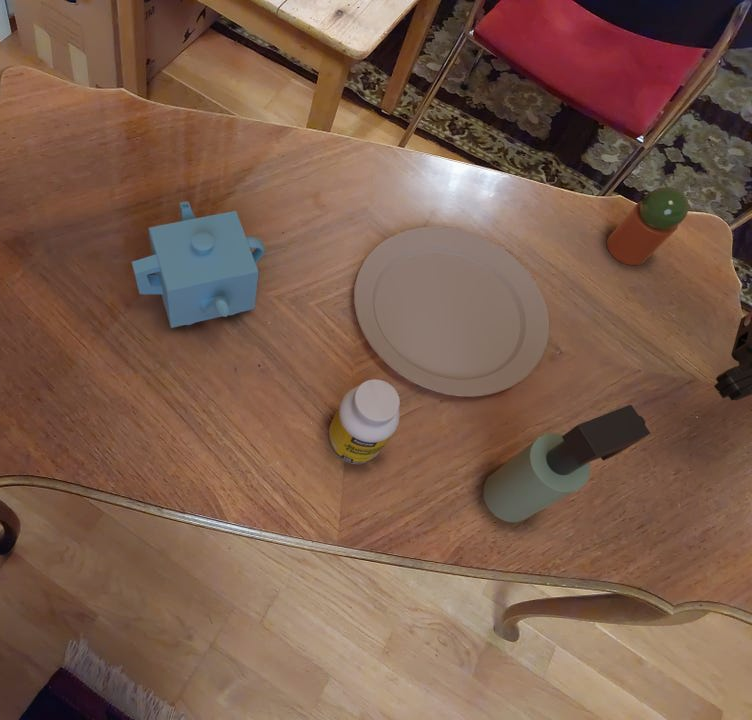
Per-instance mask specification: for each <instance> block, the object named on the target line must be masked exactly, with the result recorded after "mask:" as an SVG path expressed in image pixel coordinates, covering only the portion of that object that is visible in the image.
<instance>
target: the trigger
mask: <svg viewBox="0 0 752 720" xmlns="http://www.w3.org/2000/svg"><path fill="white" fill-rule="evenodd" d="M640 441H641V440H639V441H637V442H636V443H634V444H632V445H630V446H628V447H625V448H623V449H620V450H618V451H615V452H613V453H611V454H608V455H606V456H603V457H601V458H600V459H601V460H602V461H606V460H609V459H611V458H614V457H615V456H616V455H618V454H620V453H622V452H623V451H625V450H626V449H629V448H630V447H631V446H633V445H635V444H637V443H638V442H640Z"/></svg>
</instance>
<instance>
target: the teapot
mask: <svg viewBox="0 0 752 720" xmlns="http://www.w3.org/2000/svg"><path fill="white" fill-rule="evenodd" d="M179 214H180V215H179V216H180V220H179V221H175V222H170V223H166V224H161V225H155V226H151V227H148V234H149V241H150V242H149V243H150V250H151V255H148V256H145V257H143V258H140V259H137V260H133V261H131V266H132V269H133V275H134V279H135V282H136V286H137V289H138V294H139V295H161V299H162V302H163V304H164V309H165V313H166V316H167V319H168V323H169V326H170V329H173V328H178V327H182V326H185V325H186V326H190V325H193V324H195V323H200V322H203V321H208V320H212V319H217V318H222V317H223V318H227V317H228V316H234V315H236V314H238V313H243V312H247V311H251V310H255V308H256V299H257V289H258V282H259V273H260V270H259V268H258V266H257V264H258V262H259V261H260V260H261V259H262V258H263V256H264V255H265V252H266V249H265V248H266V247H265V245H264V242H263V241H262V240H261V239H260V238H258V237H256V236H247V235H246V234H245V231H244V228H243V226H242V222H241V219H240V217H239V215H238V212H237V210H233V211H227V212H222V213H217V214H212V215H206V216H200V217H196V215H195V214H194V212H193V210H192V206H191V205H190V202H189V201H187V200H186V201H182V202H179ZM251 249H253V251H252V250H251Z"/></svg>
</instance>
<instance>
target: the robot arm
mask: <svg viewBox="0 0 752 720" xmlns="http://www.w3.org/2000/svg"><path fill="white" fill-rule="evenodd" d="M730 355H731V358H732V359H733V360H734V361H736V362H738V365H736V366H734V367H732V368H729V369H726V370H725V371H723V372H722V373H720V374H718V375H717V376H716V378H715V380H716V381H717V382H716V383H715V384H714V385H713V387H714V389H715V390H716V391H717V392H718V394H719V396H720V397H721V398H722V399H725V398H728V399H730V400H731V401H739V400H741V399H744V398H746V397H748V396H751V395H752V310H751V311H750V312H748V313H747V314H745V315H744V316H743V317H742V318H740V321H739V324H738V327H737V332H736V335H735V339H734V343H733V347H732V350H731V353H730Z"/></svg>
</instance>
